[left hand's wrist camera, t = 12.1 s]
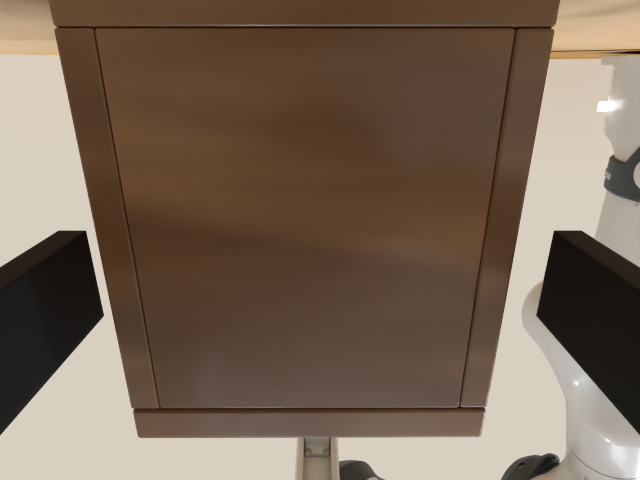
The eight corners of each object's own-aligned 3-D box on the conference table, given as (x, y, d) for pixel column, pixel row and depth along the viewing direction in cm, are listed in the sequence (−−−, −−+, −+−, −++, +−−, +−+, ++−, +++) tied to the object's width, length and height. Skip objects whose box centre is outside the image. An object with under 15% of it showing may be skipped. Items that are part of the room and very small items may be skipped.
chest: (397, 38, 23) (387, 206, 27) (230, 38, 23) (241, 206, 27) (565, -19, 7) (487, 408, 11) (43, -20, 7) (131, 409, 11)
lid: (386, 203, 27) (379, 322, 30) (243, 204, 27) (251, 322, 30) (487, 409, 11) (449, 618, 14) (130, 411, 11) (173, 619, 14)
